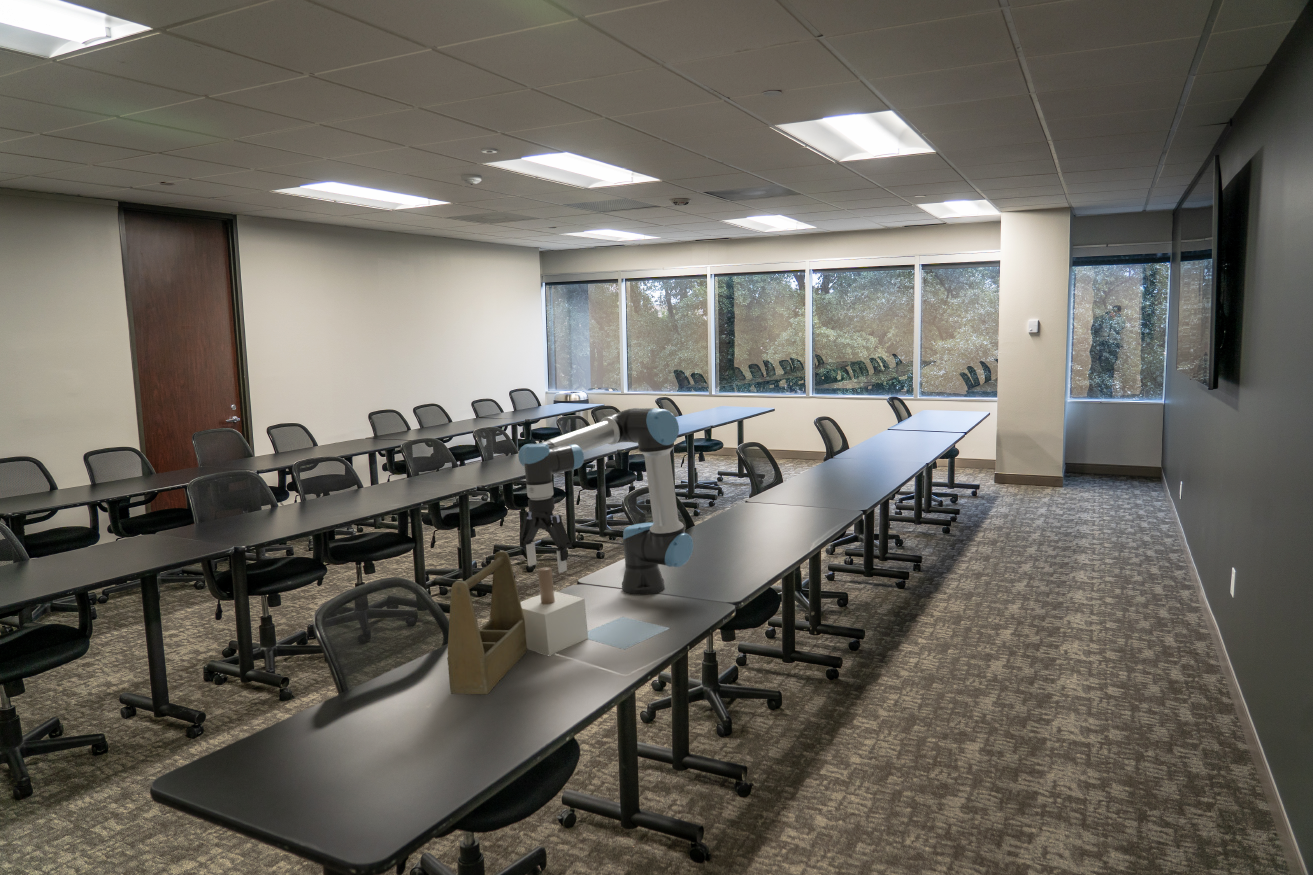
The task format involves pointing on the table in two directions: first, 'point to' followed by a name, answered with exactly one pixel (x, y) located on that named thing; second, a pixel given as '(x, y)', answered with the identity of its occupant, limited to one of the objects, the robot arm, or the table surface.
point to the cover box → (553, 618)
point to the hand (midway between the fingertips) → (547, 568)
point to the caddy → (485, 631)
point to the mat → (624, 632)
